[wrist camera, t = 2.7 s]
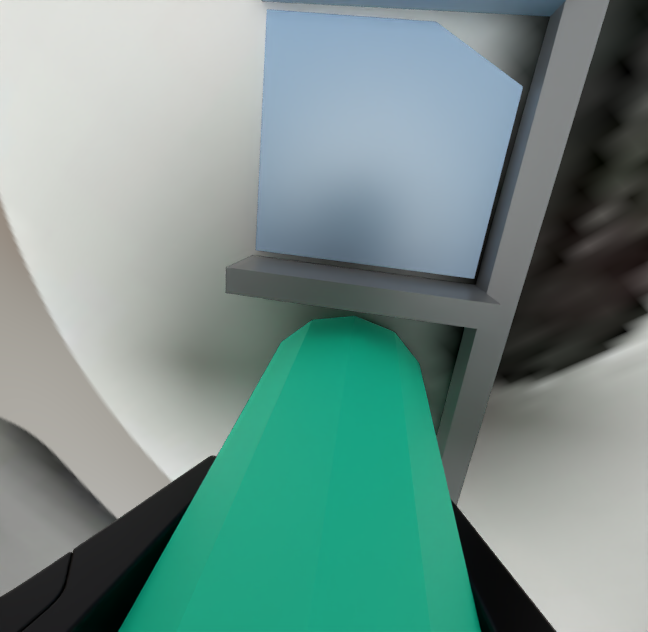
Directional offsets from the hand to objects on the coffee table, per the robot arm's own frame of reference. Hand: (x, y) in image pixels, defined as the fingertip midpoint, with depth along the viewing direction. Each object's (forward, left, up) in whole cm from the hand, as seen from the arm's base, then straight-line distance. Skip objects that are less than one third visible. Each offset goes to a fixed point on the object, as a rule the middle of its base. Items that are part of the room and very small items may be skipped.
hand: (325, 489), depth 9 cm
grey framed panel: (0, -4, -6) cm, 7 cm away
